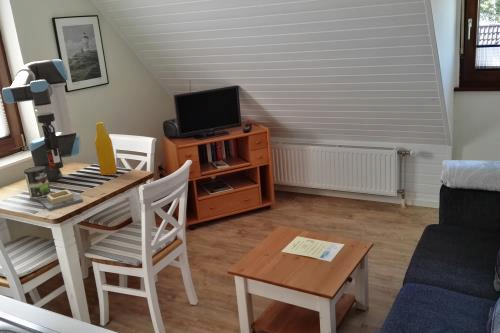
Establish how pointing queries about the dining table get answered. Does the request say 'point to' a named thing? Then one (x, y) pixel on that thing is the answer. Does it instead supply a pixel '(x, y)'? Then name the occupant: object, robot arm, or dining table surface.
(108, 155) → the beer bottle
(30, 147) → the robot arm
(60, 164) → the deodorant
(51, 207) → the hub board
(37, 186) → the coffee can
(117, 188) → the dining table surface
